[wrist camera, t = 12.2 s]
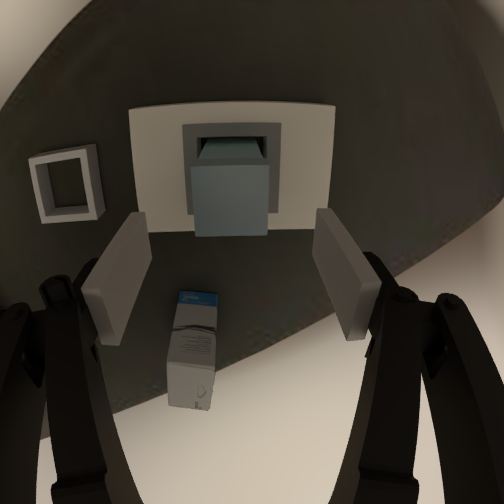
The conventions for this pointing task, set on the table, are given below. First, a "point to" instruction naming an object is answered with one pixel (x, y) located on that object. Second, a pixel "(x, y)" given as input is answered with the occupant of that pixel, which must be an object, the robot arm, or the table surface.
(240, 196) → the plug
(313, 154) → the port
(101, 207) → the grey square frame
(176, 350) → the ink box
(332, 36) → the table surface
